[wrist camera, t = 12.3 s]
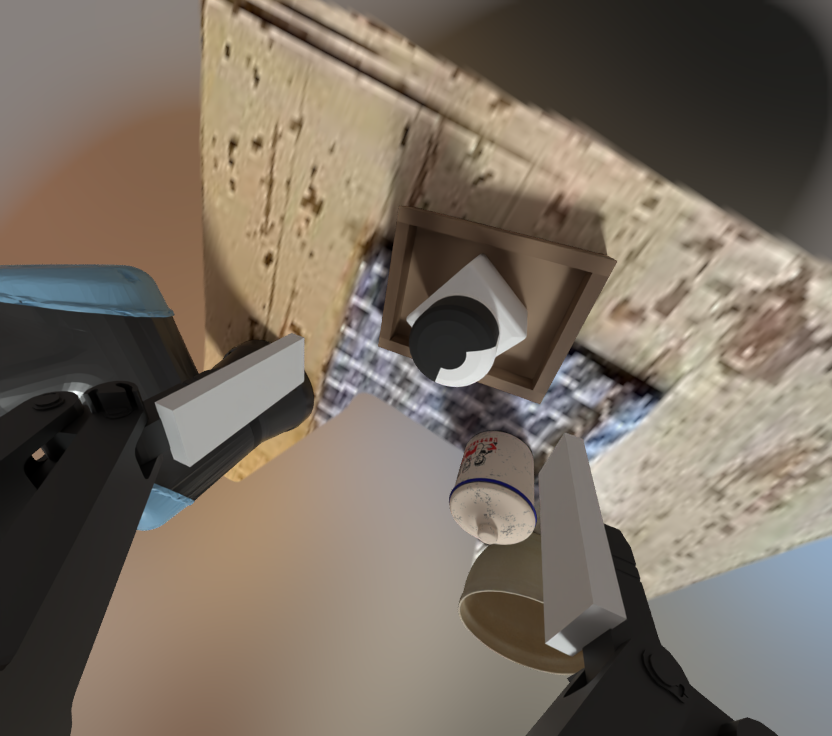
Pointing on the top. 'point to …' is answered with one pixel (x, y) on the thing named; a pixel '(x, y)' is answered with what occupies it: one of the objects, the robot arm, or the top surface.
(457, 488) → the teacup with lid
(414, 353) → the medicine bottle
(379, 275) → the top surface
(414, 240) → the holder tray
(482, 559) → the planter bowl
